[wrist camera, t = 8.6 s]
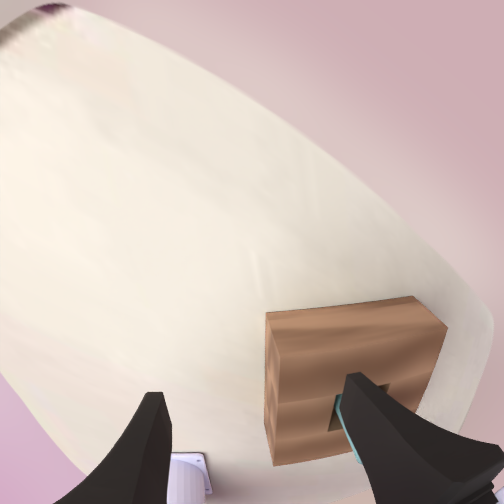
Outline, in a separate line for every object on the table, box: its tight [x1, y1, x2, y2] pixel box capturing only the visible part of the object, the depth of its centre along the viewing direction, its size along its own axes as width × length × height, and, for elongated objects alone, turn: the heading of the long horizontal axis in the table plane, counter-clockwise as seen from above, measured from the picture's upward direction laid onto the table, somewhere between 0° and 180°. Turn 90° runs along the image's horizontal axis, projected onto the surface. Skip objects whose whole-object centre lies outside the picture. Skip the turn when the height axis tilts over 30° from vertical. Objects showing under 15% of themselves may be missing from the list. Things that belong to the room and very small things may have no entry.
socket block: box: [264, 296, 448, 466], centre depth 22 cm, size 12×12×5 cm
